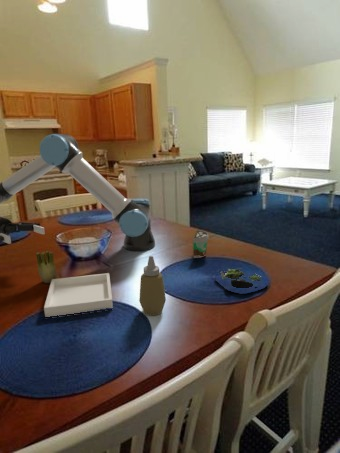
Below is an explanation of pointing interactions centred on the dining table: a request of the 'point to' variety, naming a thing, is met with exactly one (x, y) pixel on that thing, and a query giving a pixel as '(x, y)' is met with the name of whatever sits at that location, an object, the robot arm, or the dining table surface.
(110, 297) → the bin
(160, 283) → the squeeze bottle
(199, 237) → the food container
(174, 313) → the dining table surface
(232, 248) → the dining table surface
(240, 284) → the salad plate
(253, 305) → the dining table surface
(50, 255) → the fennel bulb
